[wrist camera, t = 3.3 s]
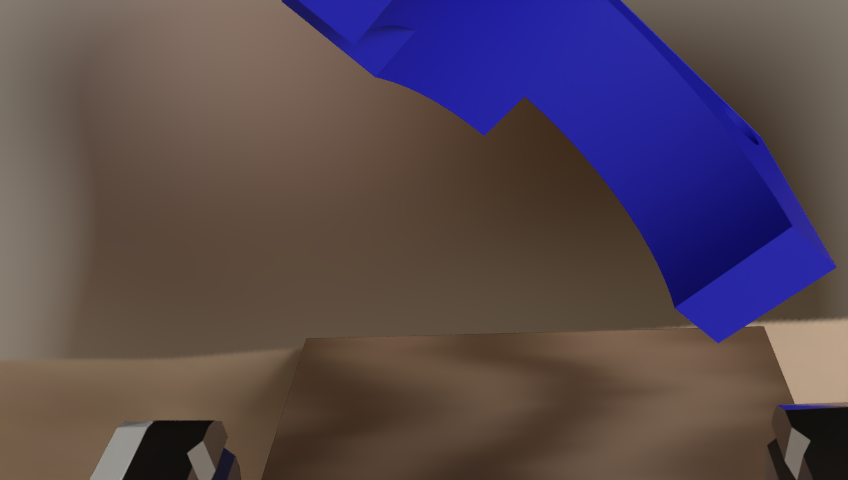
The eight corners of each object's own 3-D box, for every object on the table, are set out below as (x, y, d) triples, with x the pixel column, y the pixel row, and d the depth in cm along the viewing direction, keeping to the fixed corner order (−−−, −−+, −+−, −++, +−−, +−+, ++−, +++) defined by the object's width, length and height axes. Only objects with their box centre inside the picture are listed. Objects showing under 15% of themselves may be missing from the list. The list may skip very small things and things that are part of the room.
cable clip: (310, -37, 20) (243, 51, 15) (424, -191, 17) (391, -149, 12) (632, 234, 23) (666, 377, 18) (760, 135, 21) (836, 267, 16)
